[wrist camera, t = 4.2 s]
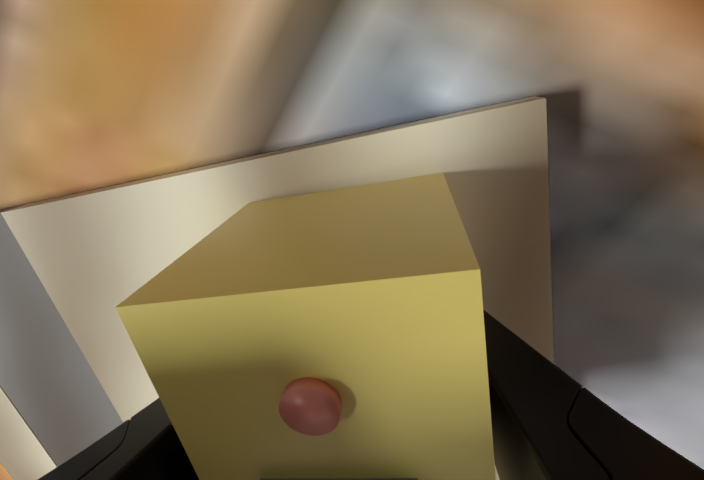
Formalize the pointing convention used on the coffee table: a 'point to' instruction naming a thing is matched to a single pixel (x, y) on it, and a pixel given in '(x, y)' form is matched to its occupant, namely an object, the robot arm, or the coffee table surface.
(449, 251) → the block
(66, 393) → the plywood panel
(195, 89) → the coffee table surface
